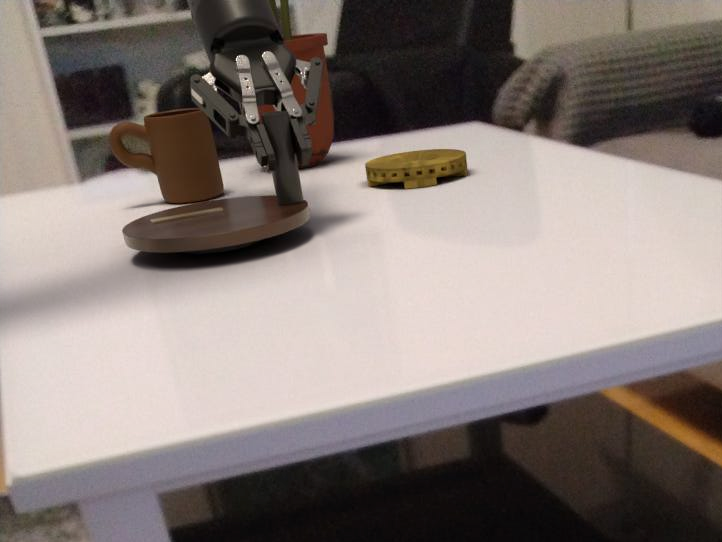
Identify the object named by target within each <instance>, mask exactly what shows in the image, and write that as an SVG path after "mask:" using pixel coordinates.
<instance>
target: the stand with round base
mask: <svg viewBox="0 0 722 542" xmlns="http://www.w3.org/2000/svg"><path fill="white" fill-rule="evenodd" d="M261 120H262V124H264V127H265V129H266V132H267V135H268V137H269V140H270V143H271V145H272V148H273V151H274V153H275V157H276V169H275V170H274V171H270V172H271V176H272V183H273V187H274V192H275V195H274V194H273V195H249V196H236V197H228V198H227V197H226V198H220V199H212V200H205V201H199V202H193V203H188V204H184V205H181V206H176V207H175V206H174V207H171V208H167V209H163V210H160V211H156V212H153V213H150V214H147V215H143V216H141V217H139V218H136V219H134V220H132V221H130V222H129V223H127V224H125V225H124V226H123V228H122V229H121V232H122V236H123V239H124V243H125V246H127V248H129V249H131V250H135V251H139V252H145V253H146V252H147V253H187V254H193V255H207V254H208V255H209V254H218V253H219V254H220V253H225V252H232V251H236V250H239V249H244V248H247V247H251V246H253V245H255V244H257V243H259V242H260V241H262V240H267V239H268V238H269V239H270V238H273V237H277V236H280V235H282V234H285V233H289V232H291V231H293V230H295V229H298V228H299V227H302V226H303V225H305V224H306V223H307V222H309V220H310V219H311V212H310V211H311V210H310V206H309V202H308V201H307V200H306V199H304V194H303V189H302V188H303V187H302V183H301V178H300V172H299V171H300V170H299V169H298V165H297V160H296V154H295V149H294V143H293V138H292V132H291V126H290V121H289V115H288V111H273V112H267V113H263V114H261Z"/></svg>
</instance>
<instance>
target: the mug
mask: <svg viewBox="0 0 722 542" xmlns="http://www.w3.org/2000/svg"><path fill="white" fill-rule="evenodd" d="M143 123H144V124H140V123H137V122H132V121H127V120H126V121H122V122H119V123H117V124H116V125H114V126H113V127H112V128H111V130H110V132H109V137H108V142H109V147H110V149H111V152H112V154H113V155H114V157H115V158H116V159H117V160H118V161H119V162H120V163H121V164H122V165H124V166H127V167H128V168H131V169H139V170H140V169H143V170H146V171H149V172H150V173H152V174H154V175H155V176H156V178H157V183H158V185H159V189H160V193H161V196H162V198H163V199H164V201H165V202H166V203H169V204H192V203H199V202H204V201H209V200H211V199H214V198H217V197H219V196H221V195H223V193H224V189H225V186H224V182H223V176H222V170H221V166H220V162H219V157H218V152H217V148H216V143H215V139H214V138H215V137H214V134H213V129H212V124H211V122H210V118H209V117H208V116H207V115H206V114H205V113H204V112H203V111H202V110H201V109H200V108H199V107H188V108H187V107H186V108H178V109H171V110H164V111H158V112H154V113H149V114H147V115H144V116H143ZM124 137H130V138H133V139H138V140H142V141H145V142H147V143H148V147H149V151H150V154H149V153H145V152H131V151H129V150H128V149H127V148H126V146H125V144H124V142H123V138H124Z"/></svg>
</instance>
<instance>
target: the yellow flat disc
mask: <svg viewBox="0 0 722 542" xmlns="http://www.w3.org/2000/svg"><path fill="white" fill-rule="evenodd" d="M467 160H468V159H467V152H466V151H465V150H462V149H454V148H432V149H420V150H411V151H405V152H397V153H392V154H388V155H383V156H379V157H375V158H373V159H370V160H368V161H367V162H365V163H364V168H365V175H366V182H367V186H368V187H375V186H376V187H377V186H382V185H387V184H393V183H403V185H404V190H405V189H407V190H408V189H416V188H417V189H419V188H424V187H425V188H426V187H432V186H437V185H438V182H437V181H438V180H437V178H448V177H449V178H451V177H452V178H453V177H466V176H468V174H469V171H468V161H467Z"/></svg>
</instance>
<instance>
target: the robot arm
mask: <svg viewBox="0 0 722 542" xmlns="http://www.w3.org/2000/svg"><path fill="white" fill-rule="evenodd" d="M186 1H187V4H188V8H189V11H190V15H191V19H192V22H193V24H194V25H195V26H196V29H197V32H198V35H199V37H200V40H201V43H202V46H203V48H204V51H205V54H206V57H207V59H208V61H209V72H207V73H206V74H204V75H203V76H201V75H200V74H197V73H195V74H192V75H191V76H190V77H189V82H190V84H189V85H190V97H191V98H190V99H191V101H192V102H193V103H194V104H195V106H197V108H200V109H201V110H202V111H203V112H204V113H205V114H206V115H207V116H208V118H209V120H211V121H212V122H213V123H214V124H215V126H217V127H218V128H219V129H220V130H221V131H222V132H223V133H224V134H225V135H226V136H227V137H228V138H230V139H237V138H238V137H239V136H240V137H244V138H246V139H247V140H248V141H249V143H250V146H251V148H252V151H253V153H254V156H255V159H256V161H257V163H258V165H259V166H260V167H265V168H266V171H267V173H269V172H271V171H274V170H275V169H276V157H275V153H274V151H273V148H272V145H271V143H270V140H269V137H268V135H267V132H266V129H265V127H264V124H260V122H259V113H258V108H257V107H260V106H262V105H273V107H274V109H275V110H276V111H288V115H289V121H290V126H291V132H292V138H293V143H294V149H295V153H296V156H297V158H298V161H299V163H300V165H301V166H303V165H308V161H309V158H311V154H312V141H311V139H310V136H309V133H308V131H307V128H306V125H309V126H313V125H315V124H316V119H317V112H318V104H319V97H320V89H321V82H322V71H323V61H322V59H321V58H319V57H313V58H312V59H311V63H310V62H306V61H302V60H297V59H296V58H295V55H294V54H293V53H292V52H291V51H290V50H289V49H288V48H287V47H286V45H285V43H284V40H283V37H282V36H283V33H282V31H281V32H280V30H281V28H280V29H279V26H278V24H277V21H276V19H275V16H274V14H273V11H272V8H271V6H270V3H269V1H268V0H186ZM295 74H297V75H298V76H299V77H300V81H301V83H302V85H304V88H305V89H307V92H306V99H305V103H304V104H302V105H300V106H299V104H298V102H297V100H296V99H295V97H294V95H293V90H292V87H291V86H290V85H291V82H292V80H293V77H294V75H295ZM218 89H219V90H220V91H222V92H223V93H225V94H226V95H227V96H229V97H230V98H231V99H233V100H234V101H235V102H237V103H238V104H239V109H240V113H241V114H240V113H238V111H237V110H236V108H234V107H233V106H232V105H231V104H230V103H229V102H228V101H227V100H226V99H225V98H224V97H223V96H222V95H221V94H220V93H219V92H218Z"/></svg>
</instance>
